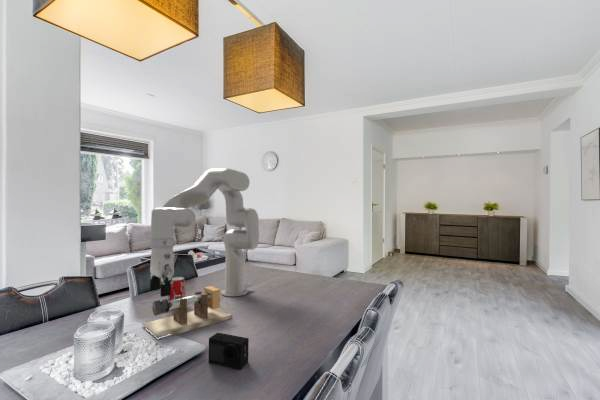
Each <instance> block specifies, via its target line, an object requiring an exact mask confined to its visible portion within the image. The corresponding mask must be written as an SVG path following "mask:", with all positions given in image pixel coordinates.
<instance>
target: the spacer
mask: <svg viewBox="0 0 600 400" xmlns="http://www.w3.org/2000/svg"><path fill="white" fill-rule="evenodd" d="M203 291H204V292H203V294H204V293H210V294H211V300H209V301H207V304H208V307H209V308H211V309H216V308H220V307H221V304H220V303H221V289H219V288H217V287H214V286H212V285H210V286H204V288H203ZM220 309H221V308H220Z"/></svg>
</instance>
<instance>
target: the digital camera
mask: <svg viewBox="0 0 600 400" xmlns="http://www.w3.org/2000/svg"><path fill="white" fill-rule="evenodd" d="M248 363H249V338H248V337H243V336H238V335H232V334H227V333H222V332H216V333H215V334H213V335H212V336H210V337H209V338H208V364H213V365H217V366H220V367H221V366H222V367H225V368H229V369H233V370H238V371H241V370H242V369H243V368H244V367H245V366H246V365H247V364H248Z"/></svg>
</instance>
